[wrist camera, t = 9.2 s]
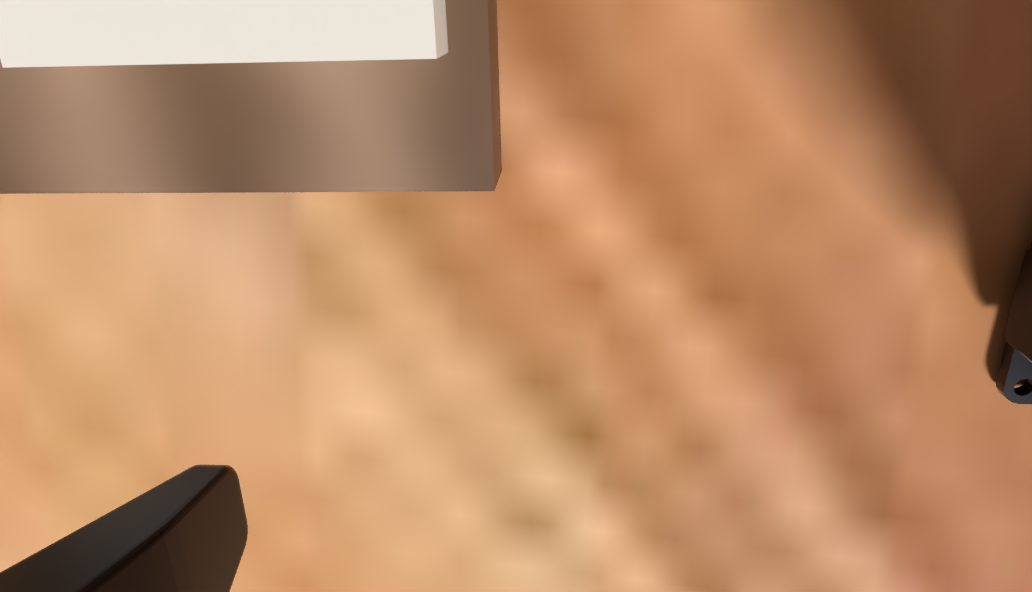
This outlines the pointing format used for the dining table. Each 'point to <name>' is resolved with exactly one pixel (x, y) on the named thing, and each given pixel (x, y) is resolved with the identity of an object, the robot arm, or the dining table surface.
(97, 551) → the robot arm
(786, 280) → the dining table surface
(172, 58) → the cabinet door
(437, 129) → the peg board
